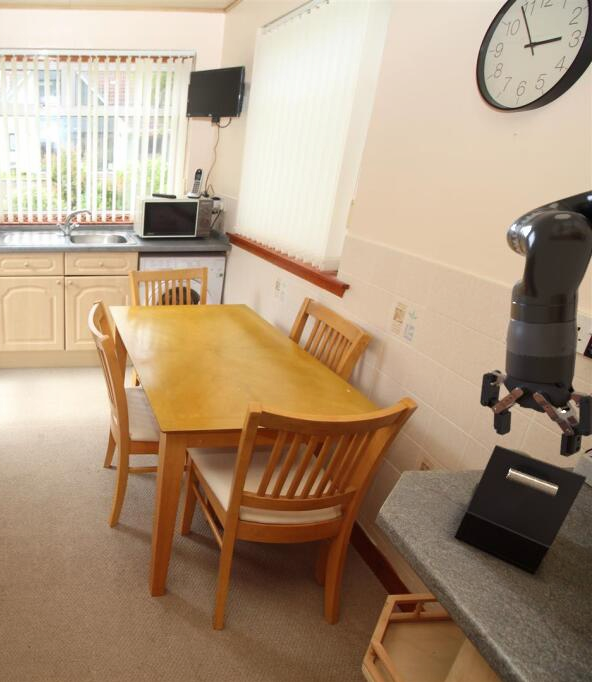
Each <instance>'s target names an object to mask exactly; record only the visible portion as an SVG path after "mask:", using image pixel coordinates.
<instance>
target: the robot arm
mask: <svg viewBox="0 0 592 682" xmlns="http://www.w3.org/2000/svg"><path fill="white" fill-rule="evenodd" d="M505 238H506V243H507V245H508V247H509V248H510V250H512V252H514V253H516V254H517V255H519V256H521V257H524V258H525V260H524V261H525V262H524V269H523V274H522V278H520V279H518V280H517V281H515V283H514V284H513V286H512V288H511V293H510V294H511V296H510V313H509V314H510V315H509V321H508V327H507V331H506V339H505V341H506V343H505V345H506V346H505V347H506V348H505V365H504V367H505V368H504V372H505V374H503V373H502V372H501V370H499V369H495V370H492V371H488V372H487V373H484V374H483V375H482V383H481V389H480V391H481V392H480V399H479V404H480V405H481V406H482V407H485V408H486V407H487V408H489V409H491V411H492V413H493V429H494V430H495V432H496V434H497V435H500V436H505V435H506V434H509V433H510V432H511V429H512V428H511V427H512V411H510V409H512V408H513V407H514V406H516V405H519V408H523V409H531V410H533V411H536V413H537V412H538V413H540V414H547V416H548V417H549V418H550V420H551V421H552V422H553V423H554V422H555V423H556V424H557V425H558V427H559V428H560V429H561V431H562V432H563V433H561V437H560V449H559V455H560V456H563V457H565V458H568V457H571V456H573V455H575V454H577V453H579V452H580V451H581V447H582V439H583V437H589V436H591V435H592V392H591V393H587V392H581V391H576V390H575V388H574V386H573V380H574V378H575V372H576V362H577V361H576V360H577V359H576V358H577V348H578V340H579V339H578V337H579V336H578V335H579V330H578V309H579V299H580V297H579V296H580V295H579V290H580V287H581V284H582V282H583V281H584V278H585V276H586V273H587V271H588V269H589V266H590V263H591V260H592V189H590V190H587V191H583V192H580V193H576V194H573V195H570V196H567V197H564V198H560V199H558V200H555V201H551V202H549V203H546V204H543V205H540V206H538V207H535V208H533V209H531V210H529V211H527V212H525V213H523V214H522V215H520V216H519V217H517V218H516V219H514V221H513V222H512V223H511V224H510V225H509V228H508V229H507V232H506V236H505ZM502 385H503V386H504V387H505V388H506V390H507V392H508V394H506V395H505V396H504V397H503V398H501V399H499V398H500V392H501V391H500V390H501V386H502ZM572 400H573V402H574V403H575V407H576V408H578V416H577V411H576V409H575V408H574V406H573V405H572V403H571V402H570V401H572ZM558 409H560V410H561V412H559V410H558ZM582 436H583V437H582Z"/></svg>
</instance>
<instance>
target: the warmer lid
mask: <svg viewBox="0 0 592 682" xmlns="http://www.w3.org/2000/svg"><path fill="white" fill-rule="evenodd" d="M510 449H511V448H507V447H503V446H501V445H499V444H495V446H494V448H493V450H492V452H491V454H490V456H489V458H488V461H487V463H486V465H485V468H484V470H483V472H482V474H481V477H480V479H479V480H478V482H477V483H478V486H477V488H476V490H475V492H474V495H473V497H472V499H471V501H470V504H469V506H468V508H467V511H469V512H472V513H474V514H476V515H479V516H481V517H483V518H485V519H488V520H490V521H492V522H495V523H497V524H499V525H502V526H504V527H506V528H509V529H511V530H513V531H515V532H518V533H520V534H522V535H525V536H527V537H529V538H532V539H534V540H536V541H538V542H541V543H543V544H545V545H548V546H549V548H550V547H552V546H553V543H554V541H555V540H556V538H557V536H558V533H559V532H560V530H561V528H562V526H563V524H564V522H565V520H566V518H567V516H568V515H569V512H570V511H571V509H572V507H573V505H574V503H575V501H576V499H577V497H578V496H579V494H580V491H581V489H582V488H583V485H584V483H585V481H586V480H587V475H584V474H581V473H578V472H575V471H572V470H569V469H566V468H564V467H561V466H558V465H555V464H553V463H550V462H547V461H543V460H541V459H538V458H536V457H533V456H531V455H530V456H531V457H530V456H527V455H524V454H521V453H518V452H515V451H512V450H510Z"/></svg>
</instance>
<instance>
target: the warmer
mask: <svg viewBox="0 0 592 682" xmlns="http://www.w3.org/2000/svg"><path fill="white" fill-rule="evenodd" d="M478 483H479V482H476V483H475V486H474V488H473V490H472V492H471V494H470V497H469V499H468V501H467V503H466V506H465V508H464V510H463V513H462V516H461V518H460V521H459V524H458V527H457V529H456V532H455V535H454V539H457V540H458V541H460V542H463V543H464V544H467V545H469V546H471V547H473V548H475V549H477V550H480V551H482V552H484V553H486V554H488V555H490V556H492V557H494V558H497V559H499V560H501V561H503V562H505V563H507V564H509V565H511V566H514V567H516V568H518V569H520V570H522V571H524V572H526V573H529V574H531V575H533V576H535V574H536V573H537V571H538V569H539V567H540V566H541V564H542V562H543V560H544V559H545V557H546V555H547V553H548V552H549V550H550V546H548V545H545V544H543V543H541V542H538V541H536V540H534V539H532V538H529V537H527V536H525V535H522V534H520V533H518V532H515V531H513V530H511V529H509V528H506V527H504V526H502V525H499V524H497V523H495V522H492V521H490V520H488V519H485V518H483V517H481V516H479V515H476V514H474V513H472V512H469V511H467V508H468V506H469V504H470V501H471V499H472V497H473V495H474V492H475V490H476V488H477V486H478Z"/></svg>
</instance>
